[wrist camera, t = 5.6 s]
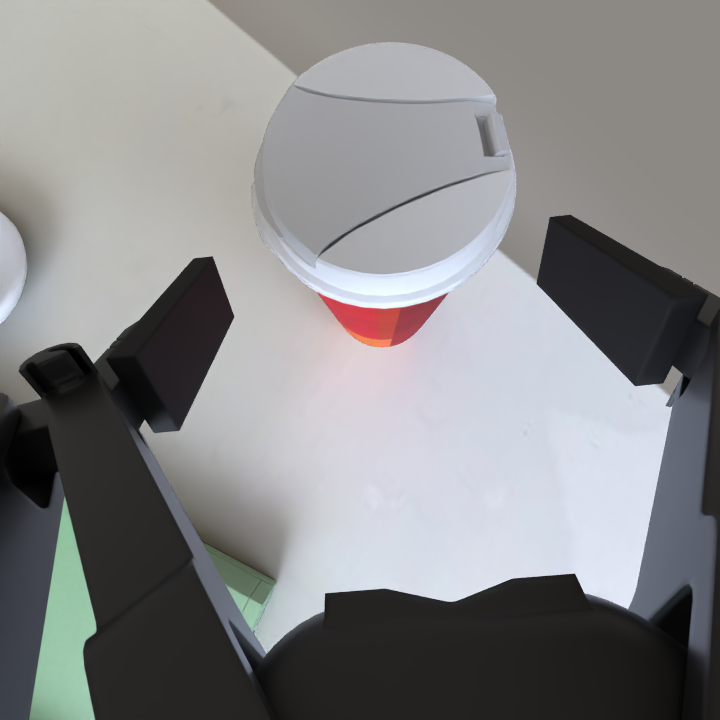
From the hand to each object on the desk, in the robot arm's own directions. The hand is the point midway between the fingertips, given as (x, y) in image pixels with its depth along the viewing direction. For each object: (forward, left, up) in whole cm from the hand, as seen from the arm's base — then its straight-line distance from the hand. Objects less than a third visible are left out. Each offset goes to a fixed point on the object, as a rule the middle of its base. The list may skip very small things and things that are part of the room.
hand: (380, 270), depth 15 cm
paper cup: (0, -1, -9) cm, 9 cm away
